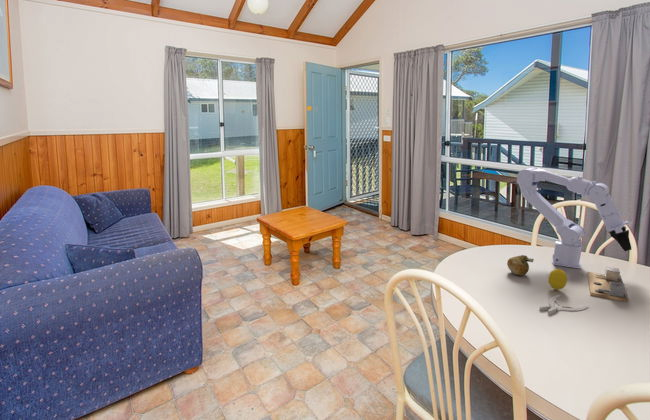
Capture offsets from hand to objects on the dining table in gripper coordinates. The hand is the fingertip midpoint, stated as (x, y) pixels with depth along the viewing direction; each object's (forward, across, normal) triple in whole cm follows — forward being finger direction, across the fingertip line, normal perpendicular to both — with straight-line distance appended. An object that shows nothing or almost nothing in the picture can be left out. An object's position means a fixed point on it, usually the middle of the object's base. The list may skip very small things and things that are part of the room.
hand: (626, 248), depth 145 cm
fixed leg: (+9, -20, +10) cm, 24 cm away
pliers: (+5, -36, +25) cm, 44 cm away
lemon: (+3, -23, +25) cm, 34 cm away
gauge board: (+8, -12, +11) cm, 18 cm away
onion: (-5, -15, +36) cm, 39 cm away
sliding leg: (+7, -6, +10) cm, 13 cm away
